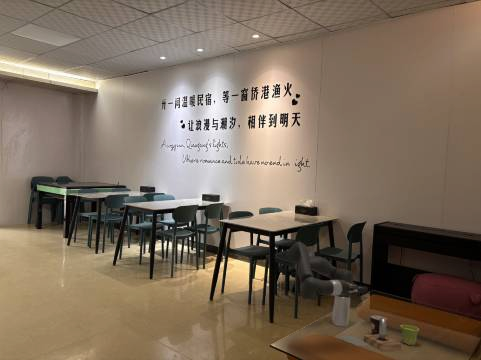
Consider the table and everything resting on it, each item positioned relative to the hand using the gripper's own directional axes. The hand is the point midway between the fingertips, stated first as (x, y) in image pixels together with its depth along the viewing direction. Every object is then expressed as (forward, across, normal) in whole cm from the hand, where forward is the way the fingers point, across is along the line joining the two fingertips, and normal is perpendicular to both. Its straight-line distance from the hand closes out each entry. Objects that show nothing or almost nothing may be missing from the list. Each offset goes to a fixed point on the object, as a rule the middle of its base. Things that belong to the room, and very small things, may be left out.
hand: (361, 287), depth 197 cm
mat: (+3, -6, -30) cm, 31 cm away
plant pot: (+34, +3, -30) cm, 46 cm away
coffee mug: (+26, -12, -30) cm, 42 cm away
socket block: (+14, +3, -30) cm, 33 cm away
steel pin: (+14, +3, -30) cm, 33 cm away
